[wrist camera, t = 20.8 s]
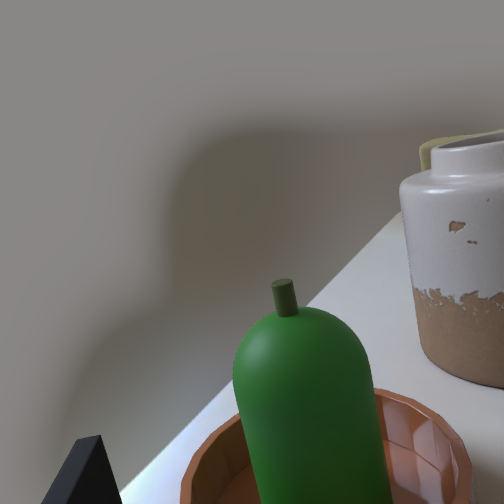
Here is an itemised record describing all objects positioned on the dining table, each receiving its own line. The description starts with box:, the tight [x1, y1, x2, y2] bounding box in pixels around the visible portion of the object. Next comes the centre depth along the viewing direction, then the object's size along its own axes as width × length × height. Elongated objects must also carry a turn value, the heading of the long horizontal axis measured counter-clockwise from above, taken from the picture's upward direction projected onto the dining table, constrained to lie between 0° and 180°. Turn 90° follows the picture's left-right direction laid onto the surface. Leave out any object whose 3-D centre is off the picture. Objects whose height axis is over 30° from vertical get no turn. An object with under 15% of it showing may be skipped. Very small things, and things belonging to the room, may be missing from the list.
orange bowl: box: [180, 388, 477, 504], centre depth 24 cm, size 14×14×4 cm
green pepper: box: [233, 279, 393, 504], centre depth 23 cm, size 7×7×13 cm
